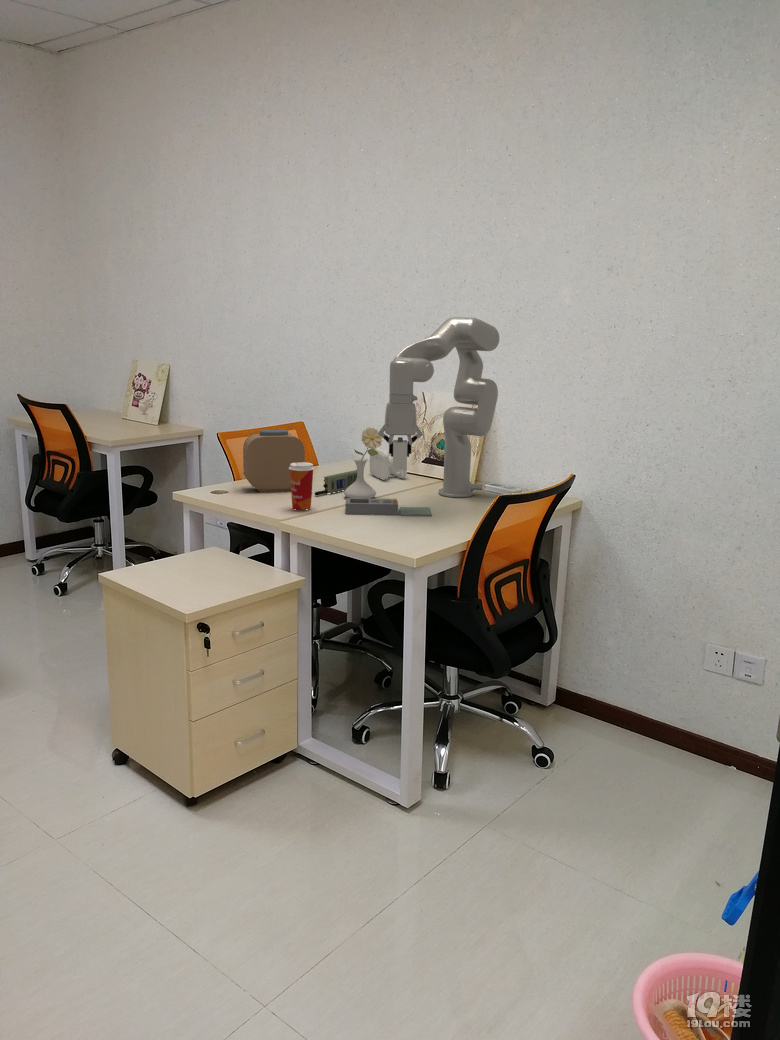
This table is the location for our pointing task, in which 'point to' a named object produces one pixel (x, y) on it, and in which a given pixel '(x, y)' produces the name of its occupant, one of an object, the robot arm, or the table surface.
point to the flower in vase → (360, 486)
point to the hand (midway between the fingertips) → (400, 455)
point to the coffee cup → (301, 485)
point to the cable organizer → (384, 465)
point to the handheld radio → (338, 482)
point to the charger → (400, 454)
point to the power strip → (371, 506)
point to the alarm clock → (271, 459)
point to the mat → (415, 511)
